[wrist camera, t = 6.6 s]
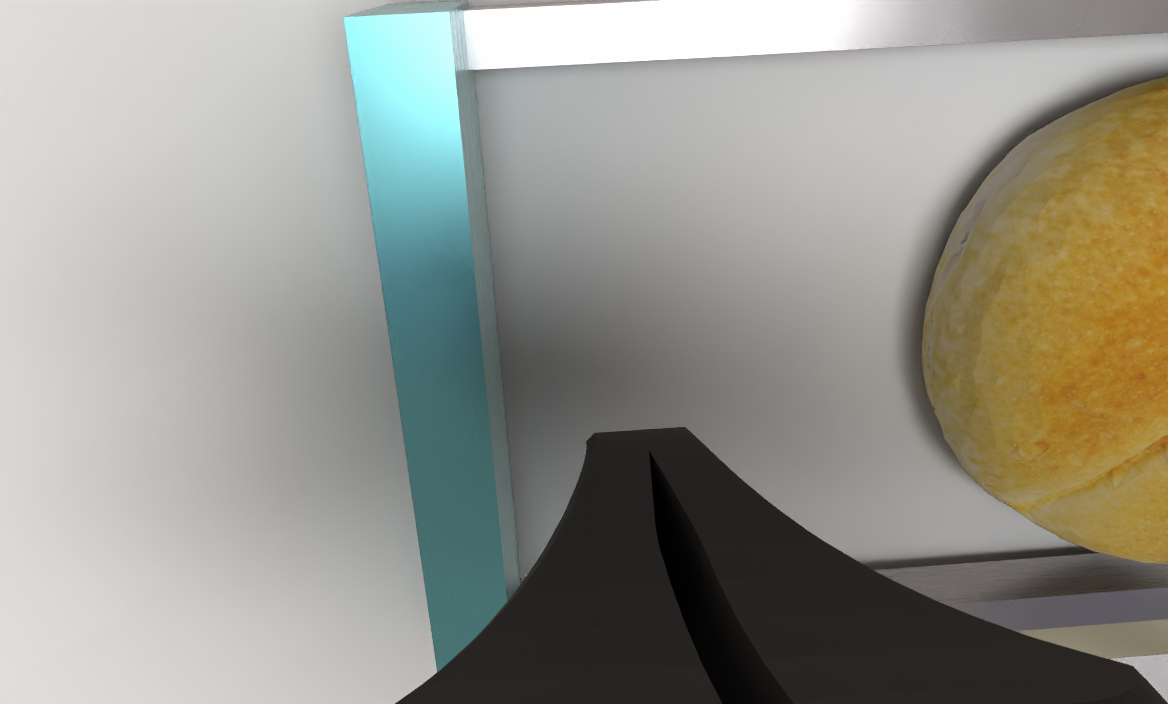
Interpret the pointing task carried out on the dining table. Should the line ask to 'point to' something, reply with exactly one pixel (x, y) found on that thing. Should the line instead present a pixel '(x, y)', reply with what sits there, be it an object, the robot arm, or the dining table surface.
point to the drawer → (465, 281)
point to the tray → (1110, 638)
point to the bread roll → (1064, 327)
